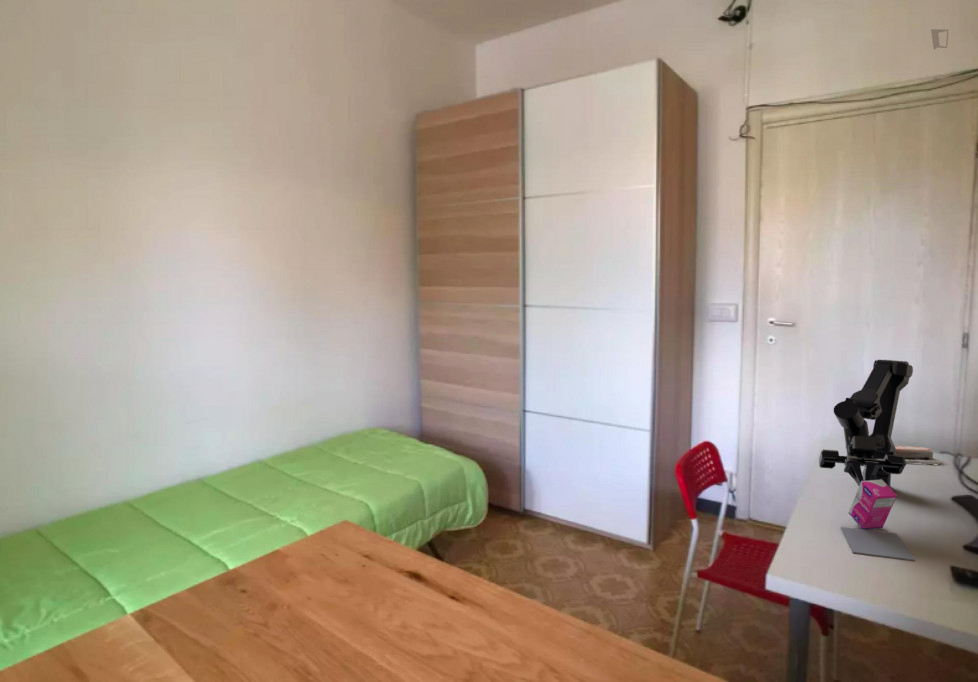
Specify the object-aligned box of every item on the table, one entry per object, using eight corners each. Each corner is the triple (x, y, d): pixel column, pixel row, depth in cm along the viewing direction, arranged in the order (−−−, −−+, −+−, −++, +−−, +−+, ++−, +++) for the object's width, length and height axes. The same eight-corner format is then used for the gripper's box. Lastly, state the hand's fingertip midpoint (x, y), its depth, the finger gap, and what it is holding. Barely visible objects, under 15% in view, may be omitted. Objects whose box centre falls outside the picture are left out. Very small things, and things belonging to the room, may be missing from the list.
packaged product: (878, 449, 194) (867, 441, 204) (878, 463, 195) (867, 454, 204) (941, 452, 189) (927, 443, 199) (940, 466, 190) (926, 457, 199)
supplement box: (846, 513, 150) (860, 480, 145) (868, 511, 151) (882, 478, 145) (861, 530, 145) (876, 496, 140) (883, 528, 145) (899, 494, 140)
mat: (840, 528, 147) (840, 526, 147) (896, 534, 142) (896, 533, 142) (852, 553, 134) (852, 551, 134) (914, 560, 129) (914, 559, 129)
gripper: (822, 420, 154) (828, 473, 144) (905, 425, 147) (917, 481, 138) (816, 441, 162) (821, 492, 153) (895, 446, 155) (905, 501, 146)
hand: (865, 491), depth 147 cm, fingers closed
